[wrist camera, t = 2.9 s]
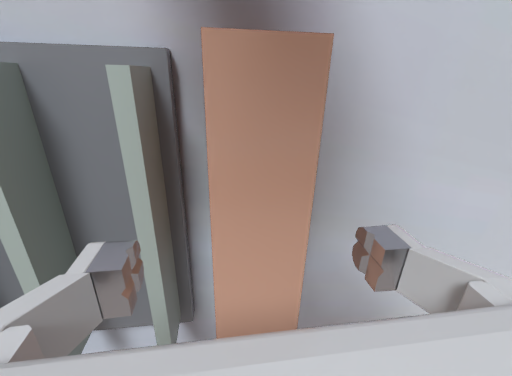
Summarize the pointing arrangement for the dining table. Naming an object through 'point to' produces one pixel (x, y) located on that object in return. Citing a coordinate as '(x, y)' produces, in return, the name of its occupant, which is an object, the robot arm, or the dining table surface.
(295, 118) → the terracotta tile
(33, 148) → the slotted rail base
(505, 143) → the dining table surface
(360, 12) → the dining table surface
